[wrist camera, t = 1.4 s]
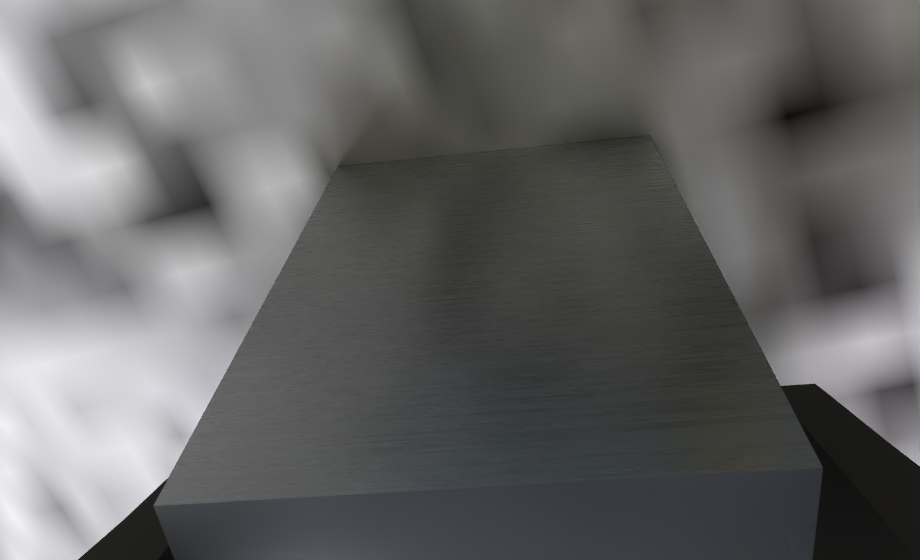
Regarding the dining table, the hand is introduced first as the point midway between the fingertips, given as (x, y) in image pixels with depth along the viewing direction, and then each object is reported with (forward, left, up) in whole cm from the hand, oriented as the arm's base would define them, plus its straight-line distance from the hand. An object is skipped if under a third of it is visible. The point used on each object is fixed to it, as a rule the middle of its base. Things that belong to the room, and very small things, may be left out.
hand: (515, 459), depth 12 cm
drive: (0, 0, -2) cm, 2 cm away
